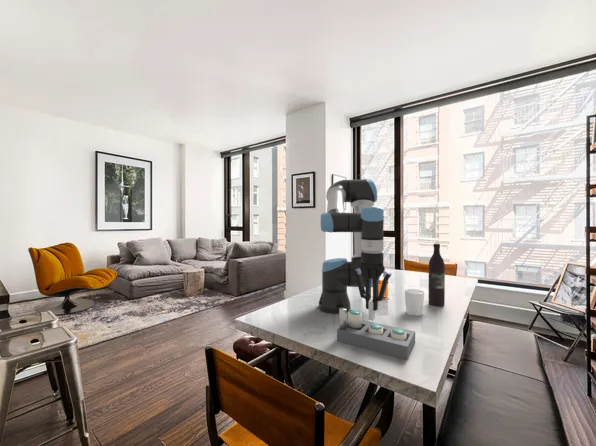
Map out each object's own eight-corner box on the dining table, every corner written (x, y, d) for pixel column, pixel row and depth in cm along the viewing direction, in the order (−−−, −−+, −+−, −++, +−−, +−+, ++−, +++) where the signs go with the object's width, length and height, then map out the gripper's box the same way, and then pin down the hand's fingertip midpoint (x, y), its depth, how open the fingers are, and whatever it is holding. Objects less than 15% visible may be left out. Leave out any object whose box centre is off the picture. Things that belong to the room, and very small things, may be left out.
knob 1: (346, 326, 95) (346, 312, 95) (351, 321, 99) (351, 308, 99) (359, 329, 92) (359, 315, 92) (363, 324, 96) (363, 311, 96)
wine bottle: (429, 305, 129) (429, 244, 128) (427, 301, 135) (428, 243, 135) (445, 307, 126) (446, 244, 126) (443, 303, 133) (443, 243, 133)
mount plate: (337, 340, 92) (337, 329, 92) (351, 327, 103) (351, 317, 103) (407, 359, 79) (407, 346, 79) (415, 343, 90) (415, 331, 90)
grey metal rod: (338, 329, 92) (338, 309, 92) (341, 326, 94) (341, 307, 94) (344, 330, 91) (344, 310, 91) (347, 328, 93) (347, 308, 93)
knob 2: (389, 347, 86) (389, 331, 86) (392, 341, 90) (392, 326, 90) (404, 351, 84) (404, 335, 84) (407, 345, 88) (407, 330, 88)
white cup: (425, 317, 114) (426, 294, 114) (406, 315, 116) (406, 293, 116) (421, 310, 122) (421, 289, 122) (403, 309, 124) (403, 288, 123)
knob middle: (366, 341, 91) (366, 326, 90) (371, 336, 95) (371, 322, 94) (380, 345, 88) (380, 330, 88) (384, 339, 92) (384, 325, 92)
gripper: (350, 251, 92) (350, 318, 93) (388, 254, 85) (388, 326, 86) (357, 249, 98) (357, 311, 99) (394, 251, 91) (393, 319, 92)
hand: (371, 318), depth 93 cm, fingers closed
